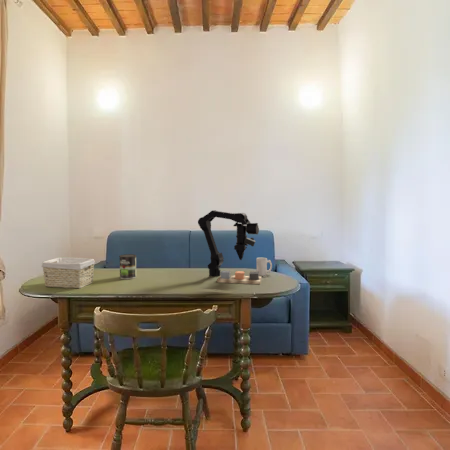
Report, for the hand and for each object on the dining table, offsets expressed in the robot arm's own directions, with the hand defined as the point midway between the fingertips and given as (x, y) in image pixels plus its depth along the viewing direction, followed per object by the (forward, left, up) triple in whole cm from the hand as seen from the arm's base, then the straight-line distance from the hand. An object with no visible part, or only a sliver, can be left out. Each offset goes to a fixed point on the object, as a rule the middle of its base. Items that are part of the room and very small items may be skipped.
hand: (241, 259), depth 198 cm
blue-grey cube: (-8, -7, -12) cm, 16 cm away
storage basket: (-96, -28, -13) cm, 101 cm away
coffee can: (-71, -5, -13) cm, 73 cm away
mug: (+14, +11, -13) cm, 22 cm away
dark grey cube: (+9, -7, -12) cm, 16 cm away
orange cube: (0, -7, -12) cm, 13 cm away
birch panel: (0, -7, -13) cm, 15 cm away
